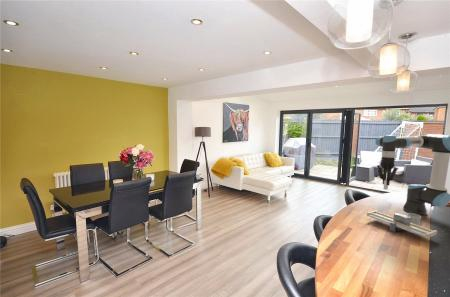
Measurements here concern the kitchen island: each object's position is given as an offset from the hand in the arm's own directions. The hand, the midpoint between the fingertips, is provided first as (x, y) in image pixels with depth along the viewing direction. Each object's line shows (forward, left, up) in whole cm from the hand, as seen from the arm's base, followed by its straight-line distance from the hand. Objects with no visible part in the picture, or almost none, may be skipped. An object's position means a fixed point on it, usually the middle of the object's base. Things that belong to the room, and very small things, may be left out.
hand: (385, 189), depth 162 cm
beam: (+2, +11, -21) cm, 24 cm away
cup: (-11, +12, -25) cm, 30 cm away
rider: (+3, +13, -20) cm, 24 cm away
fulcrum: (+2, +11, -25) cm, 27 cm away
